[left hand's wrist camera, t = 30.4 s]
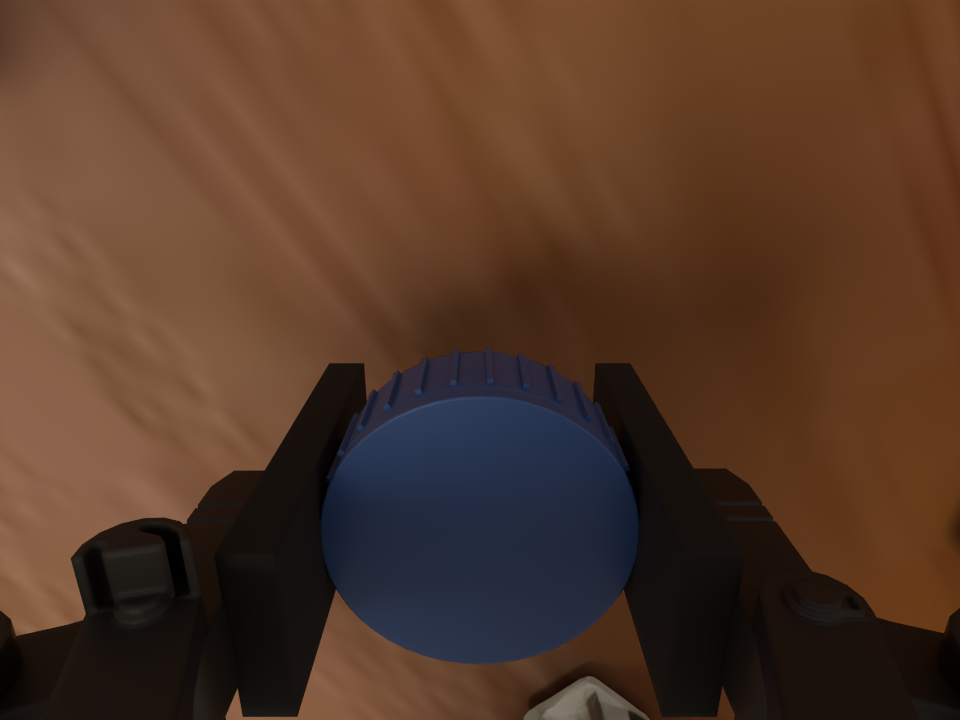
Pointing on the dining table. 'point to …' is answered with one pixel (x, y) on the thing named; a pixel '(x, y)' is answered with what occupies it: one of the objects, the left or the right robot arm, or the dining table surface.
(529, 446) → the lid
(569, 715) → the tape dispenser
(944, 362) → the dining table surface
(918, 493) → the dining table surface
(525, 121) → the dining table surface
